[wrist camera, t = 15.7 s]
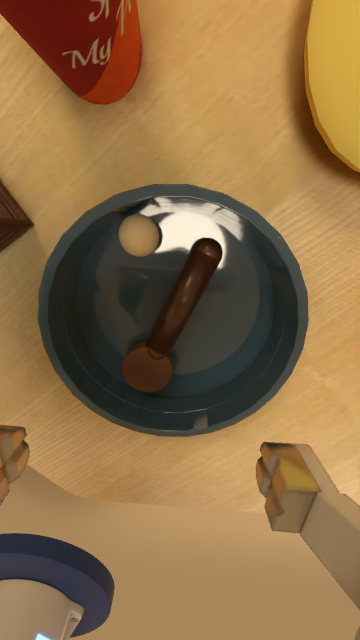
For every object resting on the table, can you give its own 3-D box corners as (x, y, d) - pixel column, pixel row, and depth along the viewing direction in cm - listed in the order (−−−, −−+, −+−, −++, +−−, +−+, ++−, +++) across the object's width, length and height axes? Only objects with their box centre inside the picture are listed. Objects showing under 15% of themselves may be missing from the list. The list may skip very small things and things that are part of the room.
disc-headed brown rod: (187, 225, 18) (188, 223, 16) (237, 252, 19) (244, 254, 17) (119, 368, 23) (112, 383, 21) (161, 386, 24) (158, 402, 21)
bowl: (241, 413, 25) (254, 454, 21) (64, 379, 24) (36, 413, 19) (315, 230, 19) (359, 228, 14) (78, 169, 18) (40, 145, 13)
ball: (132, 234, 19) (129, 200, 17) (165, 246, 19) (166, 213, 16) (113, 256, 18) (107, 222, 15) (148, 270, 18) (147, 238, 15)
